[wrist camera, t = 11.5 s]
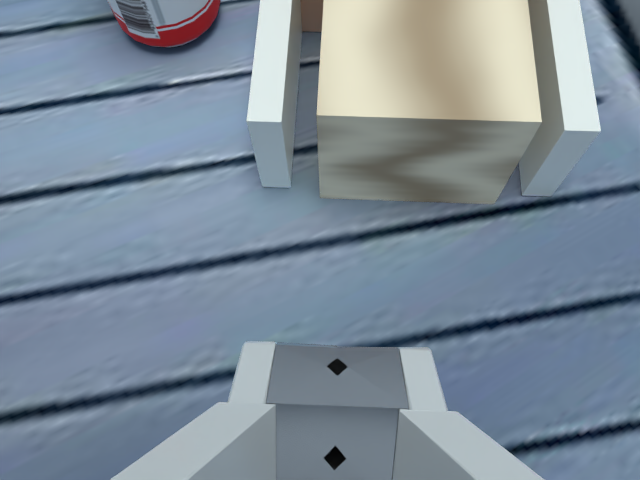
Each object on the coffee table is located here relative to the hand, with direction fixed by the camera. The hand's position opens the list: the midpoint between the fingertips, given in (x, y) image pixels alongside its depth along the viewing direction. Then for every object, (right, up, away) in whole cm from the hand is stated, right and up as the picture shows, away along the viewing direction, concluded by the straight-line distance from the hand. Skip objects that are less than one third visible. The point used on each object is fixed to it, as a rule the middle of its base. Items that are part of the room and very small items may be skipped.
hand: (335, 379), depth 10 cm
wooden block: (+4, +9, +23) cm, 25 cm away
